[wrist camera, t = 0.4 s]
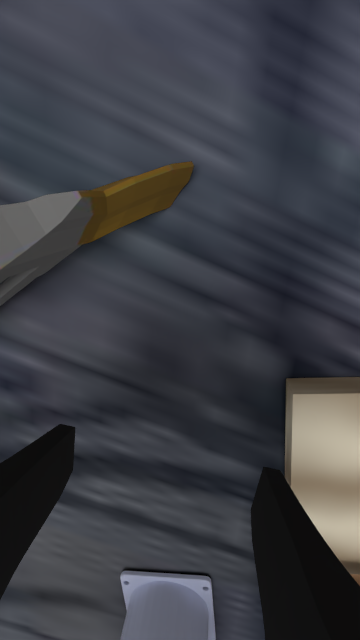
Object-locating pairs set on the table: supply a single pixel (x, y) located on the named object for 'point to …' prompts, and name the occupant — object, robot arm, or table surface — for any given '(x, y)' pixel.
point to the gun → (77, 221)
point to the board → (326, 459)
